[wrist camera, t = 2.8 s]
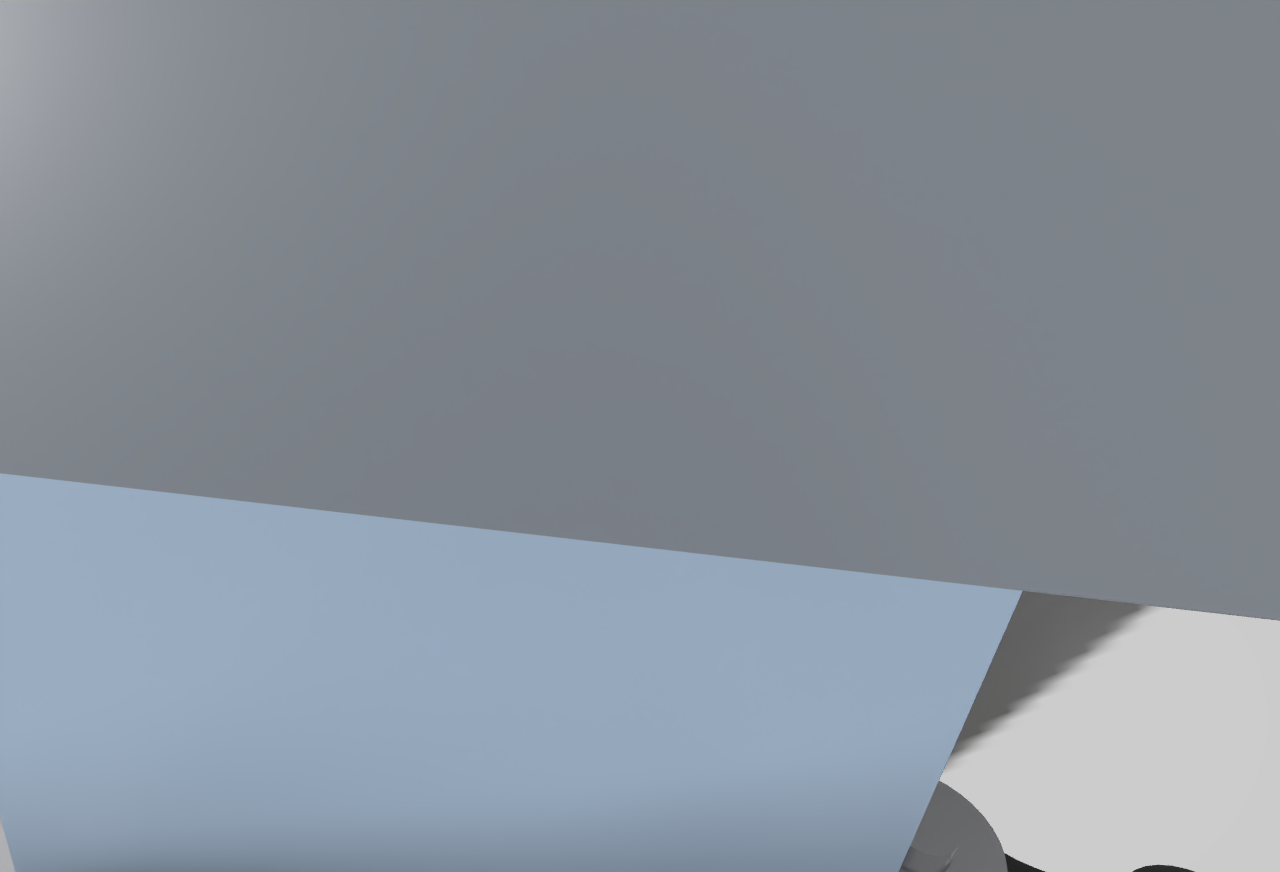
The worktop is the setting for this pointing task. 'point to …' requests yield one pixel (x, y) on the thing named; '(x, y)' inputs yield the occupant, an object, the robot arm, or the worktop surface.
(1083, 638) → the worktop surface
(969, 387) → the blue-gray block
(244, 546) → the tan-tipped blue bar
